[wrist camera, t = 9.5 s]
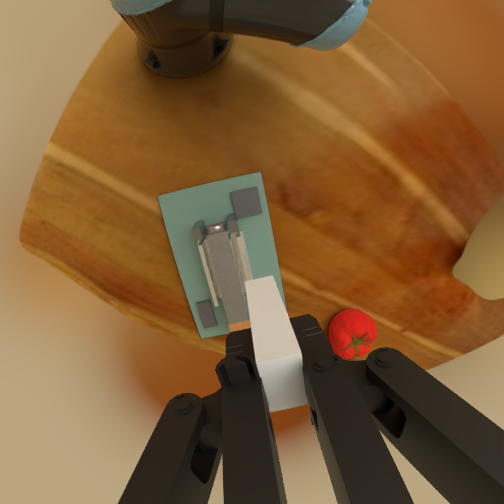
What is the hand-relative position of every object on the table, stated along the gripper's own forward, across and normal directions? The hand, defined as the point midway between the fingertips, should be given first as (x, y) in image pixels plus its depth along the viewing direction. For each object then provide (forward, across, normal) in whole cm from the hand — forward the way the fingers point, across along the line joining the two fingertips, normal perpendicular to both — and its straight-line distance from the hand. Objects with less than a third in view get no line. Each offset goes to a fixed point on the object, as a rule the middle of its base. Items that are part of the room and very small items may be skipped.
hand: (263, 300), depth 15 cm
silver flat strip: (+25, -4, -9) cm, 27 cm away
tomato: (+31, +15, -26) cm, 43 cm away
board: (+30, -4, -8) cm, 32 cm away
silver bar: (+29, -4, -9) cm, 31 cm away
